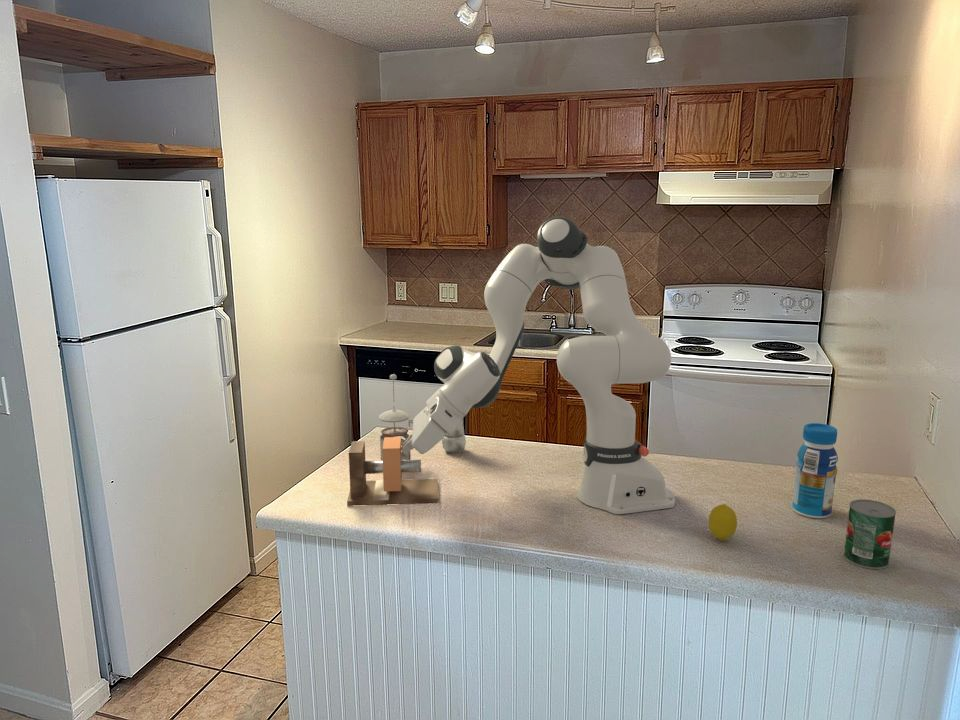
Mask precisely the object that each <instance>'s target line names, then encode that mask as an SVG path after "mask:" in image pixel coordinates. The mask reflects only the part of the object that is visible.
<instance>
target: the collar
mask: <svg viewBox="0 0 960 720" xmlns="http://www.w3.org/2000/svg"><path fill="white" fill-rule="evenodd" d="M401 439H402V436H397V437H384V442H383V448H382V454H383V473H382V477H383V478H382V480H383V486H384V491H401V484H402V480H403V473H401V452H402V451H401V447H402V446H401Z"/></svg>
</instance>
